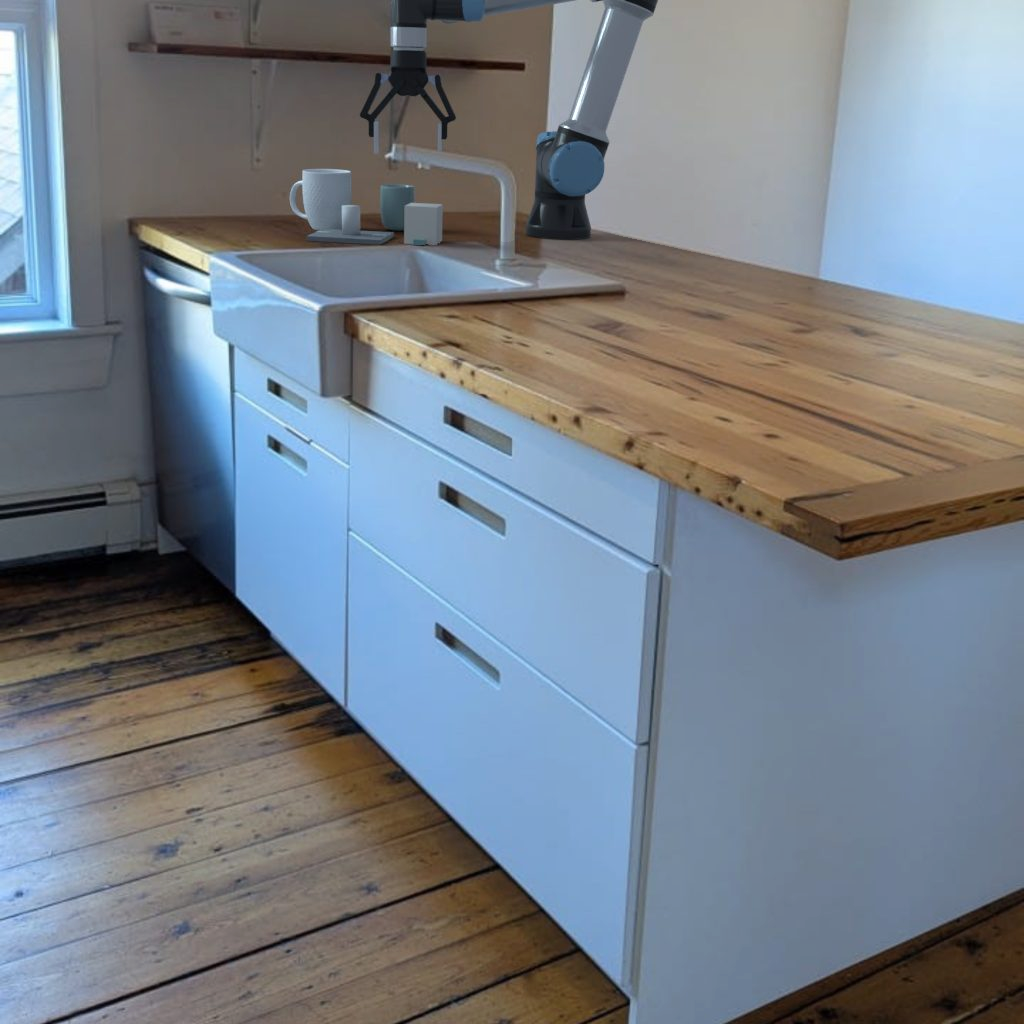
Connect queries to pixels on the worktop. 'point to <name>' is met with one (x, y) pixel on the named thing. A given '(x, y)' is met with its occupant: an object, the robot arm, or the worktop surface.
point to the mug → (323, 197)
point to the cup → (395, 204)
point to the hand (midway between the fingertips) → (407, 154)
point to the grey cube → (423, 223)
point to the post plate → (350, 238)
